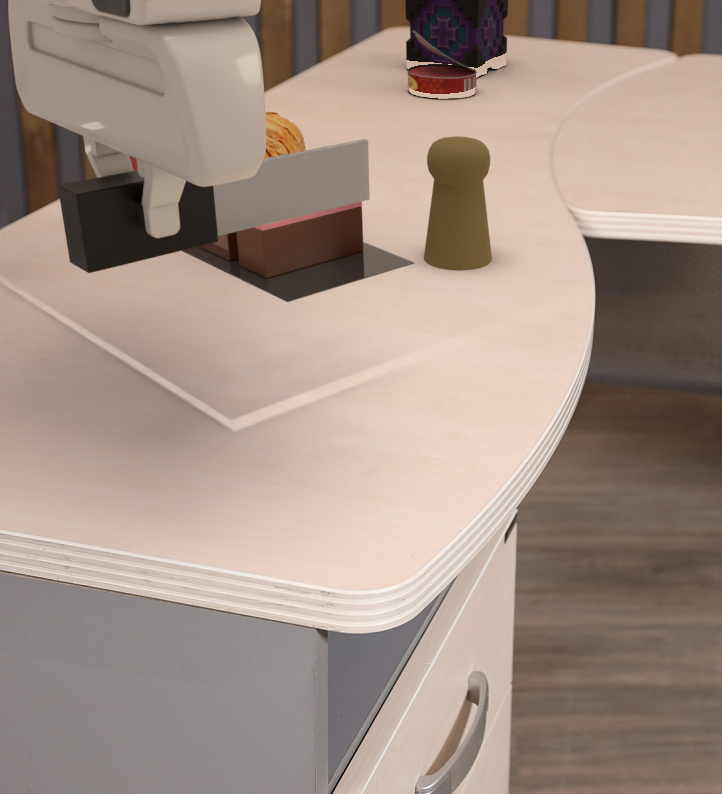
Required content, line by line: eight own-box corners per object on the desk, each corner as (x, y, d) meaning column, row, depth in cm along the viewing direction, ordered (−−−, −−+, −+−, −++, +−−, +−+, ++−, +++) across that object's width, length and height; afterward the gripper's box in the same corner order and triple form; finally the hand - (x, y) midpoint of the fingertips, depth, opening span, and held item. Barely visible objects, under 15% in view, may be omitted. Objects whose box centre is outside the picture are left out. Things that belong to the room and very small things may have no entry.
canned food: (420, 117, 161) (425, 50, 161) (484, 116, 158) (489, 48, 159) (390, 93, 150) (395, 22, 150) (458, 92, 148) (463, 20, 148)
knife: (357, 195, 73) (356, 129, 71) (378, 203, 71) (377, 136, 69) (69, 262, 59) (56, 184, 57) (88, 274, 58) (76, 194, 56)
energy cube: (506, 65, 175) (508, -13, 170) (477, 78, 165) (478, -5, 160) (439, 58, 179) (439, -19, 174) (406, 70, 169) (405, -12, 163)
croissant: (251, 243, 106) (282, 175, 103) (157, 190, 105) (186, 120, 101) (315, 179, 125) (343, 120, 121) (236, 133, 123) (263, 72, 120)
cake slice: (239, 266, 89) (234, 213, 87) (336, 240, 96) (334, 190, 94) (266, 279, 87) (261, 225, 85) (363, 251, 93) (362, 200, 91)
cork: (484, 282, 90) (487, 151, 85) (414, 275, 91) (413, 145, 86) (499, 258, 96) (502, 133, 90) (432, 251, 96) (432, 127, 91)
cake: (164, 250, 94) (157, 191, 92) (289, 220, 103) (285, 164, 100) (288, 311, 83) (283, 245, 81) (415, 271, 92) (414, 211, 89)
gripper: (-40, -59, 58) (5, 191, 65) (157, -11, 46) (189, 291, 53) (73, -62, 62) (105, 172, 69) (281, -19, 50) (297, 262, 57)
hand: (143, 225), depth 61 cm, fingers closed on knife, 2 cm apart
